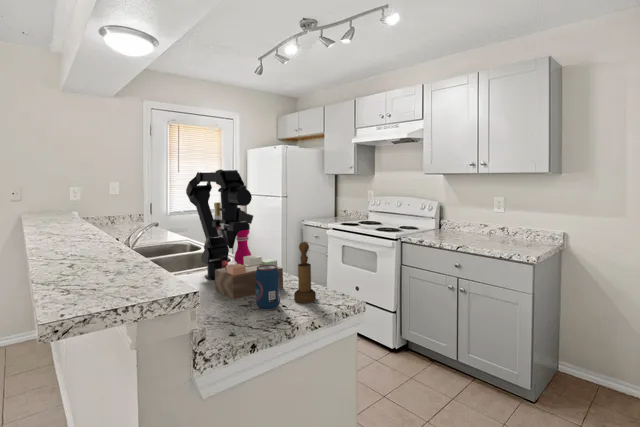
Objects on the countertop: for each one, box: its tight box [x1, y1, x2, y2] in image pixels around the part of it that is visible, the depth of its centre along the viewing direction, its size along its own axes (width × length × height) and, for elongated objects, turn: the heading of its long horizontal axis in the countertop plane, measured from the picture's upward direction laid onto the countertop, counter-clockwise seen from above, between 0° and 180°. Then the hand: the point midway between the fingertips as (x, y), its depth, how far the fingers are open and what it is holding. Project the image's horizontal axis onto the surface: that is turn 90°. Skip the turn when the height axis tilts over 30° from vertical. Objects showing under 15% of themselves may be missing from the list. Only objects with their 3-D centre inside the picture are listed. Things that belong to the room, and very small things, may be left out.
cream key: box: [244, 254, 263, 266], centre depth 124 cm, size 4×4×2 cm
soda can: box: [255, 265, 281, 311], centre depth 108 cm, size 7×7×12 cm
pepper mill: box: [233, 230, 252, 265], centre depth 157 cm, size 7×7×20 cm
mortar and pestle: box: [293, 241, 317, 304], centre depth 114 cm, size 7×6×18 cm
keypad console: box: [214, 264, 284, 300], centre depth 127 cm, size 14×18×7 cm
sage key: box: [260, 258, 278, 267], centre depth 128 cm, size 4×4×2 cm
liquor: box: [213, 201, 229, 268], centre depth 158 cm, size 7×7×28 cm
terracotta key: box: [226, 263, 246, 276], centre depth 120 cm, size 4×4×2 cm
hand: (231, 248), depth 133 cm, fingers closed
